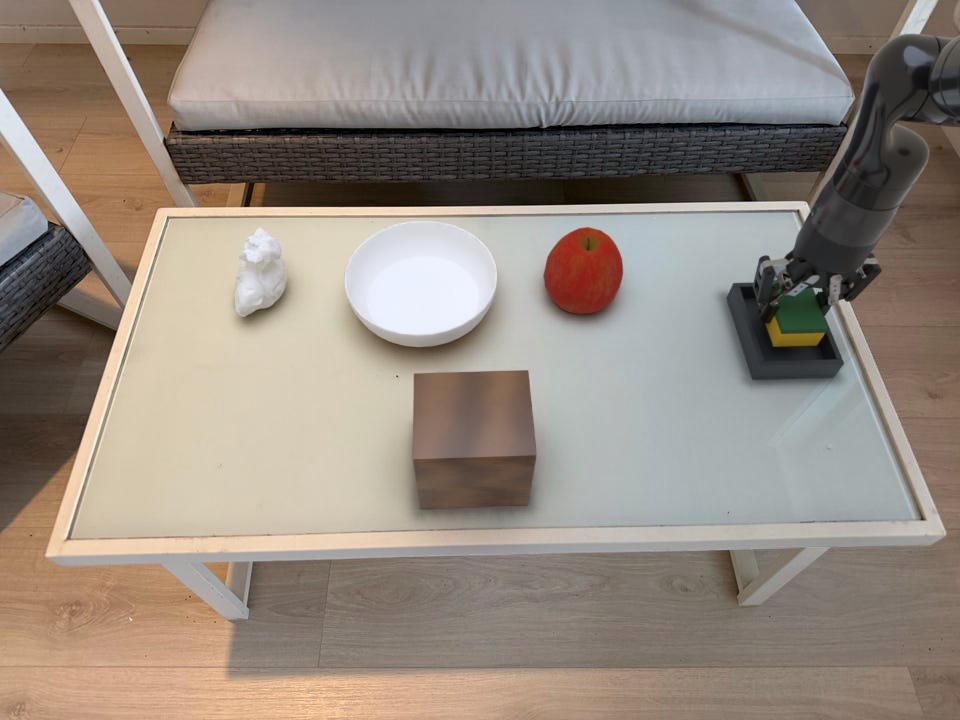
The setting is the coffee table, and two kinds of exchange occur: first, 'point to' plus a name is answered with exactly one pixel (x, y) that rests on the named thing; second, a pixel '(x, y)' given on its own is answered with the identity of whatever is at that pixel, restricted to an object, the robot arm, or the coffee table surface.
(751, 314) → the tray
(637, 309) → the coffee table surface
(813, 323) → the sponge
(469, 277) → the bowl
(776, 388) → the coffee table surface
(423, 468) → the wooden block
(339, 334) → the coffee table surface
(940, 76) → the robot arm
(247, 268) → the bust
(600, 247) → the apple
